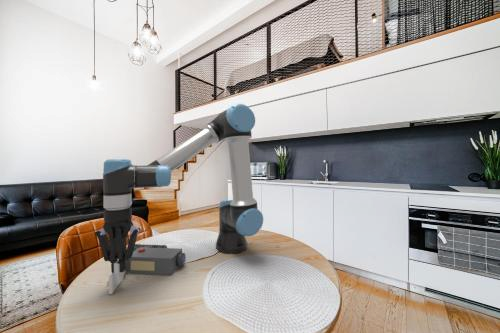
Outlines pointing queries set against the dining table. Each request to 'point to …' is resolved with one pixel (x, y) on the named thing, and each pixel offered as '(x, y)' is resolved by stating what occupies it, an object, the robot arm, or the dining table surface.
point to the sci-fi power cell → (149, 246)
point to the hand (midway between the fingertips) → (118, 281)
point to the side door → (112, 283)
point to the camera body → (155, 261)
